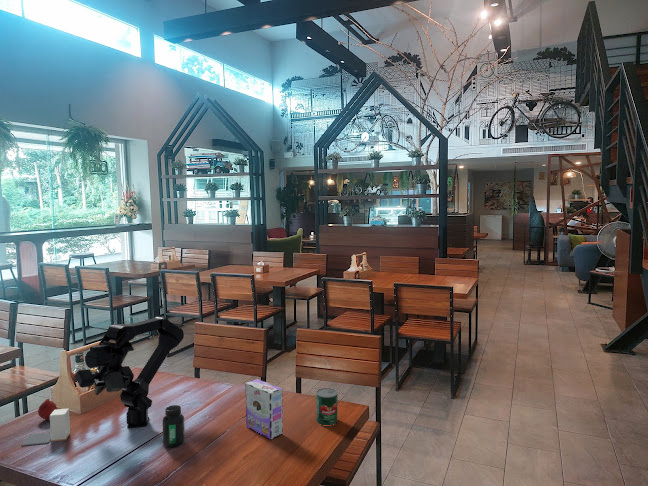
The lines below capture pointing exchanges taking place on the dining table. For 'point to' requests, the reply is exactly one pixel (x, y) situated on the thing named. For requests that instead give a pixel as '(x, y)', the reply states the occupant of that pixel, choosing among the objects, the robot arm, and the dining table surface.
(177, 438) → the supplement bottle
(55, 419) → the block
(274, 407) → the candy box
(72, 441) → the dining table surface
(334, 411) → the canned tomato
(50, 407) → the onion
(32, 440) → the mat
